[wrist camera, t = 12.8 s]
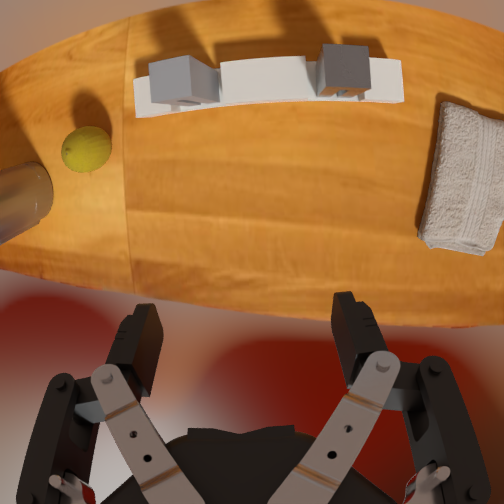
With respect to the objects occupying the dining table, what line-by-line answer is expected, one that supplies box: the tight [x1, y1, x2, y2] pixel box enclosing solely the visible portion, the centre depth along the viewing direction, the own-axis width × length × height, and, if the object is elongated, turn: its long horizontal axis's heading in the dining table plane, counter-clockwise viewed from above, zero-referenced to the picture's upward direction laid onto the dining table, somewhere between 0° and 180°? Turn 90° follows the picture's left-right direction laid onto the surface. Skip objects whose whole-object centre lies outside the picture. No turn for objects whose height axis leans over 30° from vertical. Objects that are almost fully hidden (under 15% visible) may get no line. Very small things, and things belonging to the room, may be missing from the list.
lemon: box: [61, 126, 112, 173], centre depth 32 cm, size 6×6×8 cm
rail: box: [133, 55, 404, 118], centre depth 26 cm, size 28×4×10 cm, turn 94°
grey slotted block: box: [315, 44, 371, 98], centre depth 25 cm, size 4×4×10 cm
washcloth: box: [417, 101, 504, 256], centre depth 31 cm, size 12×18×3 cm, turn 176°
